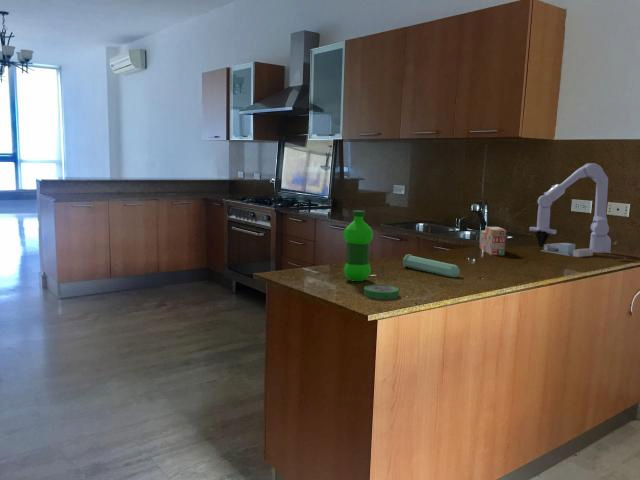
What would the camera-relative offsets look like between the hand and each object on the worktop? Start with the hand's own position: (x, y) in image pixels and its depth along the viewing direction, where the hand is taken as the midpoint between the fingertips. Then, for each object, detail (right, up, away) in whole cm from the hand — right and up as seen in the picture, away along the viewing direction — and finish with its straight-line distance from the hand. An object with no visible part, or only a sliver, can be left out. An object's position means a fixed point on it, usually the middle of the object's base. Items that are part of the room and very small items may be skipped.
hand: (541, 246), depth 273 cm
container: (-67, -10, -58) cm, 89 cm away
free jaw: (+3, -1, -5) cm, 6 cm away
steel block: (+7, -3, -12) cm, 14 cm away
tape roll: (-91, -15, -98) cm, 134 cm away
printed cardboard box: (-27, -3, -5) cm, 27 cm away
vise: (+7, -4, -12) cm, 15 cm away
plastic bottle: (-97, -11, -76) cm, 124 cm away
